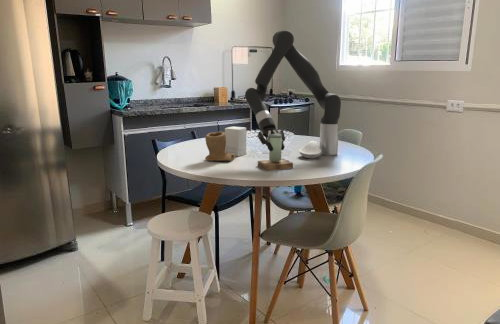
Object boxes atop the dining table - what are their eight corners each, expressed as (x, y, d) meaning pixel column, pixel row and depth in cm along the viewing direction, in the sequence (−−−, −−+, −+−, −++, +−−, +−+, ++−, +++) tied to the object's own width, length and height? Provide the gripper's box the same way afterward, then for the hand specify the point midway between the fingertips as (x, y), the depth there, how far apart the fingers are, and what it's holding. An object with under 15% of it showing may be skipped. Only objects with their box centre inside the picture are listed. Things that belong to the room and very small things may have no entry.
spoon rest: (319, 160, 197) (320, 147, 195) (297, 159, 200) (297, 146, 198) (324, 151, 219) (324, 139, 217) (304, 150, 222) (304, 138, 220)
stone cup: (202, 163, 190) (201, 133, 186) (207, 157, 201) (207, 129, 198) (232, 164, 188) (232, 134, 185) (236, 158, 200) (235, 130, 196)
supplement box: (247, 153, 211) (247, 127, 208) (238, 156, 204) (238, 129, 200) (233, 152, 216) (233, 125, 212) (224, 154, 208) (224, 128, 205)
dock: (283, 163, 190) (283, 158, 189) (292, 167, 181) (293, 162, 181) (257, 165, 185) (257, 160, 184) (266, 170, 176) (266, 165, 175)
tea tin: (277, 157, 186) (278, 133, 183) (283, 160, 181) (284, 135, 178) (267, 158, 184) (267, 134, 181) (272, 161, 179) (272, 136, 176)
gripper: (255, 117, 181) (267, 146, 173) (280, 116, 187) (293, 144, 180) (249, 127, 187) (261, 155, 179) (274, 125, 193) (287, 152, 186)
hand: (277, 149), depth 179 cm, fingers closed on tea tin, 5 cm apart
